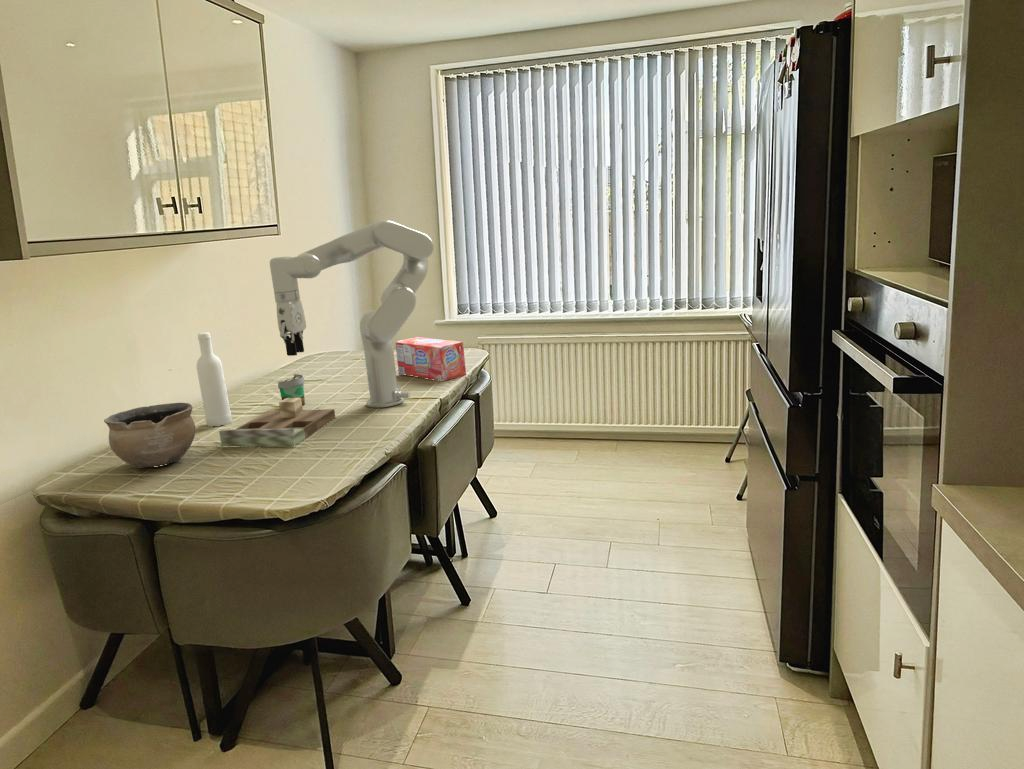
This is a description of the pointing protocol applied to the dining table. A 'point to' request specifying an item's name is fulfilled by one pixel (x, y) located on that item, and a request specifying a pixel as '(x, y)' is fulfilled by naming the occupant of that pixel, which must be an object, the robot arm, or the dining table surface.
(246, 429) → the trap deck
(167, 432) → the ceramic bowl
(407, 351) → the box
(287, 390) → the food container
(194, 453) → the dining table surface
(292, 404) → the maple block
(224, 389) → the bottle
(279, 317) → the robot arm
